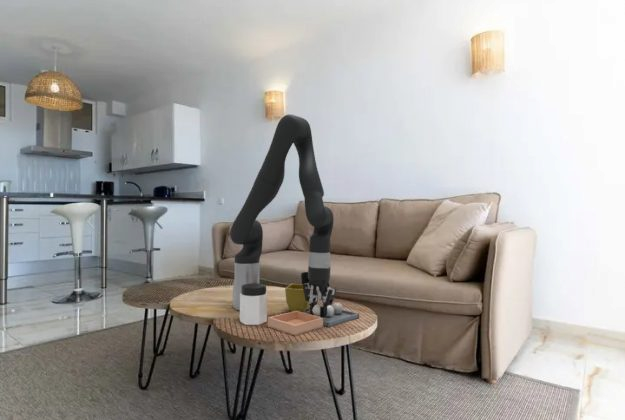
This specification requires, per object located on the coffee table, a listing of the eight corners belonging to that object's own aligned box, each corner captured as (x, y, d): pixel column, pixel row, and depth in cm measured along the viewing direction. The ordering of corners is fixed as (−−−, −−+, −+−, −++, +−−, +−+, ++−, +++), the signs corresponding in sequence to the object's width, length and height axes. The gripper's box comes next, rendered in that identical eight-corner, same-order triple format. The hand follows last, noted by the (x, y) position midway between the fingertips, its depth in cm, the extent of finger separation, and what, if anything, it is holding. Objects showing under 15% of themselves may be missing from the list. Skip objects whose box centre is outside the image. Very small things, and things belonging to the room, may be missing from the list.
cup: (319, 306, 154) (320, 275, 154) (300, 305, 154) (300, 274, 154) (319, 301, 161) (320, 272, 161) (301, 301, 162) (301, 271, 162)
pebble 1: (319, 316, 137) (320, 304, 137) (327, 314, 140) (327, 303, 140) (328, 318, 134) (328, 307, 134) (336, 316, 137) (336, 305, 137)
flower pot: (308, 314, 141) (308, 289, 141) (284, 313, 143) (284, 288, 143) (313, 308, 150) (313, 284, 150) (290, 307, 152) (290, 283, 151)
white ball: (309, 315, 134) (310, 304, 134) (317, 313, 137) (318, 302, 137) (318, 318, 131) (318, 306, 131) (326, 316, 134) (326, 304, 134)
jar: (270, 323, 130) (271, 286, 130) (247, 327, 125) (247, 289, 125) (259, 316, 137) (259, 282, 137) (236, 320, 133) (237, 284, 133)
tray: (296, 318, 136) (296, 313, 136) (328, 310, 148) (328, 306, 148) (327, 327, 126) (328, 322, 126) (359, 317, 138) (359, 313, 138)
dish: (267, 326, 126) (268, 317, 126) (296, 319, 135) (296, 310, 135) (294, 336, 117) (294, 325, 117) (323, 327, 126) (323, 318, 126)
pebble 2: (329, 313, 140) (329, 302, 140) (336, 312, 143) (336, 300, 143) (337, 316, 138) (338, 304, 138) (345, 314, 140) (345, 302, 140)
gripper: (296, 263, 136) (295, 313, 136) (327, 269, 126) (326, 322, 126) (311, 262, 141) (310, 310, 141) (342, 266, 131) (341, 318, 132)
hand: (318, 315), depth 134 cm, fingers closed on white ball, 4 cm apart
